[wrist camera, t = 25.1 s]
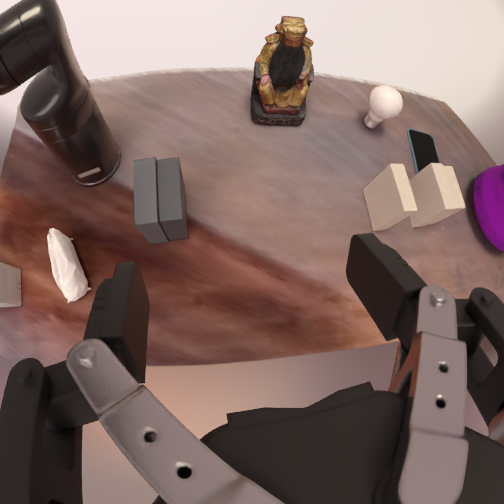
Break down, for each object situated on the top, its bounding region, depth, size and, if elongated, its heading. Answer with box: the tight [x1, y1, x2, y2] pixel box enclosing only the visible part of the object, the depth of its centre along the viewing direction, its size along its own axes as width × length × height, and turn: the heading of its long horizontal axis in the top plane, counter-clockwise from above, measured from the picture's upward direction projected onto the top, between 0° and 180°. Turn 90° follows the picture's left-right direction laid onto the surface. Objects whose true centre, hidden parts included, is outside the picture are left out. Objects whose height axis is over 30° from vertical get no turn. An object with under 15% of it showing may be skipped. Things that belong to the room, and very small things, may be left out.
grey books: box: [134, 157, 189, 244], centre depth 41 cm, size 6×9×10 cm, turn 8°
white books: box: [409, 163, 466, 228], centre depth 47 cm, size 6×8×10 cm
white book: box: [363, 164, 417, 231], centre depth 45 cm, size 3×8×10 cm, turn 8°
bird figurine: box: [47, 228, 91, 303], centre depth 40 cm, size 5×7×10 cm
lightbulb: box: [364, 85, 403, 128], centre depth 49 cm, size 6×6×11 cm
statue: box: [251, 16, 314, 126], centre depth 43 cm, size 12×8×20 cm, turn 88°
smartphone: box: [407, 129, 440, 174], centre depth 54 cm, size 7×1×15 cm
